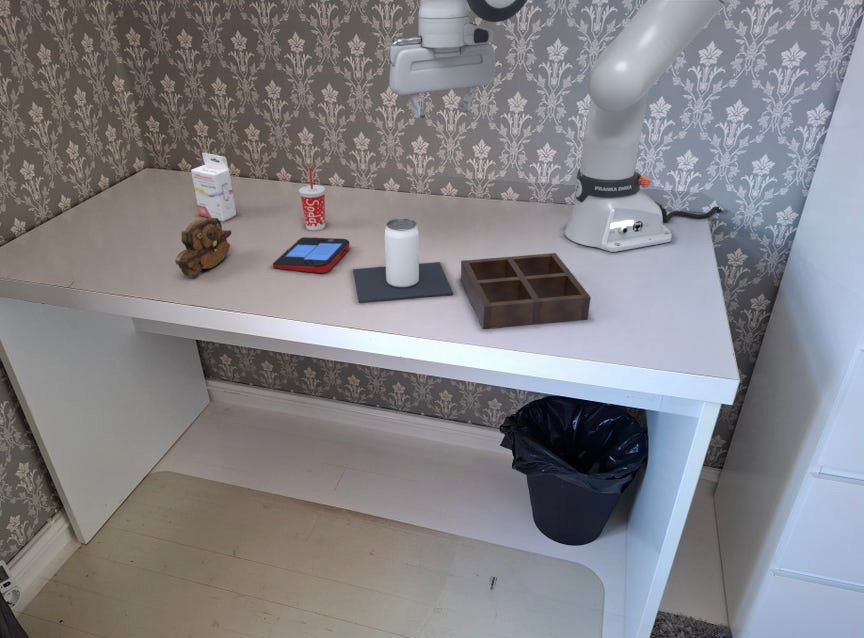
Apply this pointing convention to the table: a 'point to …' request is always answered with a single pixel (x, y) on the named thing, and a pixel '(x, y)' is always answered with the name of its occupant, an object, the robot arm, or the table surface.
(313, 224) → the beverage cup
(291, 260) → the game console
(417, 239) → the can
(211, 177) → the ink cartridge box
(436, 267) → the mat
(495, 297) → the crate
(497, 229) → the table surface
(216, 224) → the wooden carving
